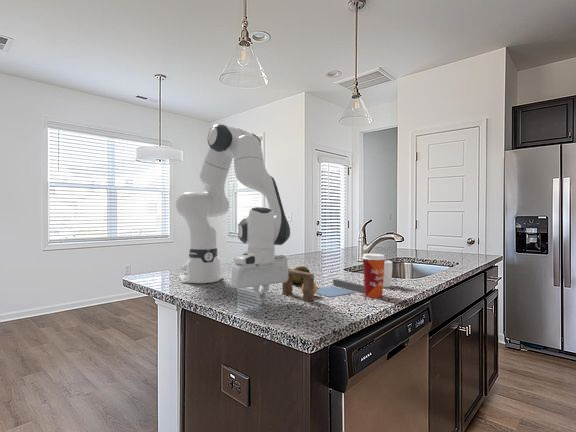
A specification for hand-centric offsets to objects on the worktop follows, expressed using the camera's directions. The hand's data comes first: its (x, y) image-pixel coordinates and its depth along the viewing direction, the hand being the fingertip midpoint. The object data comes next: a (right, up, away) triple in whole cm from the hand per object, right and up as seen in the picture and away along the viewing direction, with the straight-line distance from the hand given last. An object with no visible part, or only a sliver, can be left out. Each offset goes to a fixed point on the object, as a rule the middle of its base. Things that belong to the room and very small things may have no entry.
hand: (261, 298), depth 113 cm
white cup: (+48, -2, +29) cm, 56 cm away
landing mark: (+25, -2, +18) cm, 31 cm away
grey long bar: (+34, -2, +23) cm, 41 cm away
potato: (+13, -2, +31) cm, 34 cm away
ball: (+17, +1, +10) cm, 20 cm away
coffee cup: (+40, -2, +11) cm, 41 cm away
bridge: (+12, -2, +9) cm, 15 cm away
